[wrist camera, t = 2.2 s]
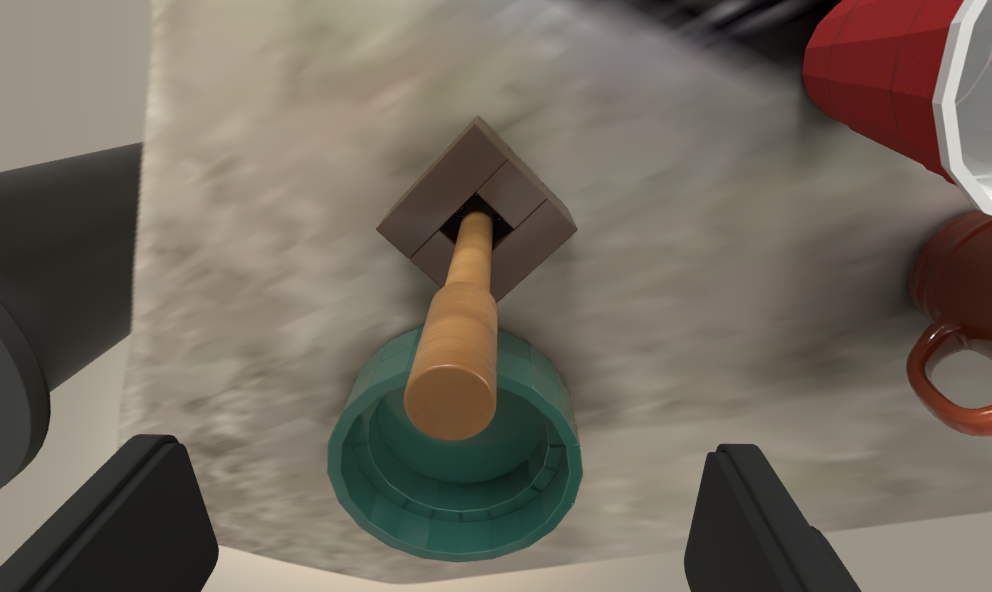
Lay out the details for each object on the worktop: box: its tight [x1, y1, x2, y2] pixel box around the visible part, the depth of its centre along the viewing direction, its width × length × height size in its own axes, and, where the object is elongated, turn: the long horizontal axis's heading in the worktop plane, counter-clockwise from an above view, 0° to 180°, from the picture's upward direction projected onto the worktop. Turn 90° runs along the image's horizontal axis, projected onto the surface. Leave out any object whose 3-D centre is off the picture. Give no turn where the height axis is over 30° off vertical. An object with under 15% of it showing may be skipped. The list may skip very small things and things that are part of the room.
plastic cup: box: [802, 0, 992, 215], centre depth 19 cm, size 11×11×12 cm
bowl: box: [327, 326, 583, 562], centre depth 32 cm, size 15×15×6 cm
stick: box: [404, 198, 498, 441], centre depth 20 cm, size 2×2×18 cm
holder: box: [376, 116, 577, 303], centre depth 26 cm, size 7×7×4 cm
